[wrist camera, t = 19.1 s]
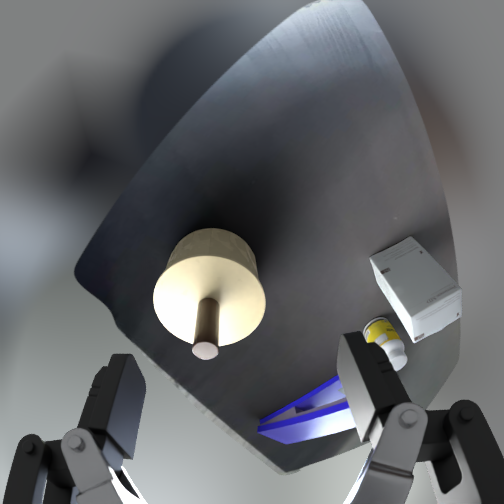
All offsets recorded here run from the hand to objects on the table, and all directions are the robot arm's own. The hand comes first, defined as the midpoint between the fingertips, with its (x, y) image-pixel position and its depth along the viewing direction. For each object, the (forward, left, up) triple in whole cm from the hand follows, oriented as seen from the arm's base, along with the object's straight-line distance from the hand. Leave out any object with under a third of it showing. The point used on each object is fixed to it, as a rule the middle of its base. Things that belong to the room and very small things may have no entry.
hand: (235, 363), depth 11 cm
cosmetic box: (+24, +15, -30) cm, 41 cm away
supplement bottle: (+36, +8, -30) cm, 48 cm away
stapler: (+50, -10, -30) cm, 59 cm away
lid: (+10, -9, -22) cm, 25 cm away
